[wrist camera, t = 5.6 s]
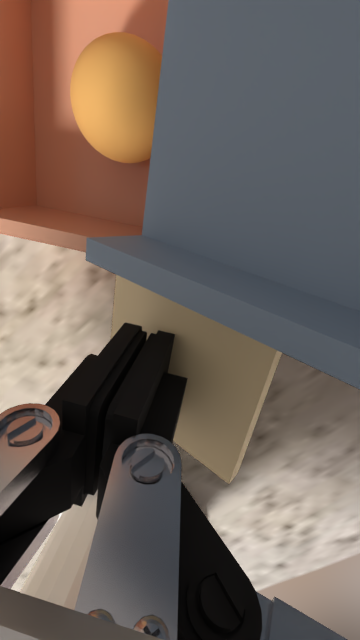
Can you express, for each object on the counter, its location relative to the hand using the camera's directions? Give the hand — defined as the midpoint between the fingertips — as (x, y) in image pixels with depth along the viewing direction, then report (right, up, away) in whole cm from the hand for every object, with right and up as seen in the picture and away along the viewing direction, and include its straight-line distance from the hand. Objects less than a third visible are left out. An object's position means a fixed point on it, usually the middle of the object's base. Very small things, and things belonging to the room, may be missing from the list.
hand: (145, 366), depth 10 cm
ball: (-1, +10, +1) cm, 10 cm away
